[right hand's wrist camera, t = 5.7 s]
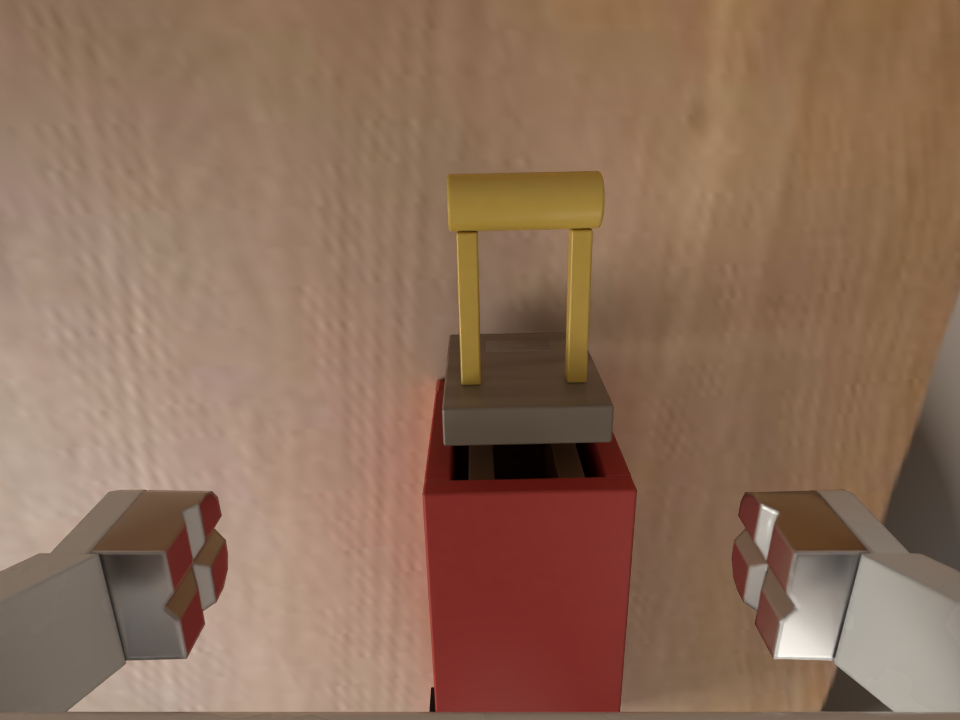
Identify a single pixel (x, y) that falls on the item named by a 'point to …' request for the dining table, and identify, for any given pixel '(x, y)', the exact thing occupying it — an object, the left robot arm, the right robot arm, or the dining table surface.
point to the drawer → (524, 336)
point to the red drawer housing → (527, 582)
